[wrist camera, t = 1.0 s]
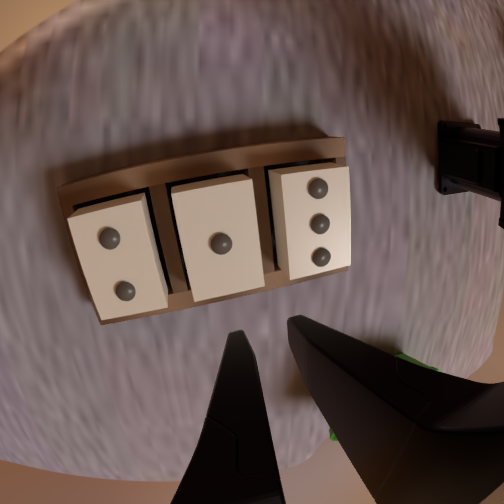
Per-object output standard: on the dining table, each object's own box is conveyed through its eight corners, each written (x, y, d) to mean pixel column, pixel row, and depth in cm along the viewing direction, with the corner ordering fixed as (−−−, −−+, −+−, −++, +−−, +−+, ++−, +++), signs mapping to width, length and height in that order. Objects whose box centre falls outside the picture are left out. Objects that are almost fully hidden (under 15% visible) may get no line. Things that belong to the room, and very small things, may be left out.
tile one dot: (242, 173, 17) (252, 179, 15) (254, 270, 19) (265, 287, 17) (171, 186, 16) (171, 194, 14) (191, 284, 19) (194, 303, 17)
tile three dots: (330, 162, 18) (350, 166, 16) (333, 252, 20) (351, 266, 18) (268, 170, 17) (281, 175, 15) (277, 265, 20) (290, 281, 18)
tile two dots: (144, 192, 16) (140, 201, 14) (167, 289, 18) (167, 308, 16) (78, 208, 15) (66, 219, 13) (107, 301, 18) (101, 321, 16)
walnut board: (328, 136, 19) (344, 137, 18) (334, 259, 23) (347, 270, 21) (67, 182, 16) (56, 188, 14) (105, 309, 20) (100, 325, 18)
